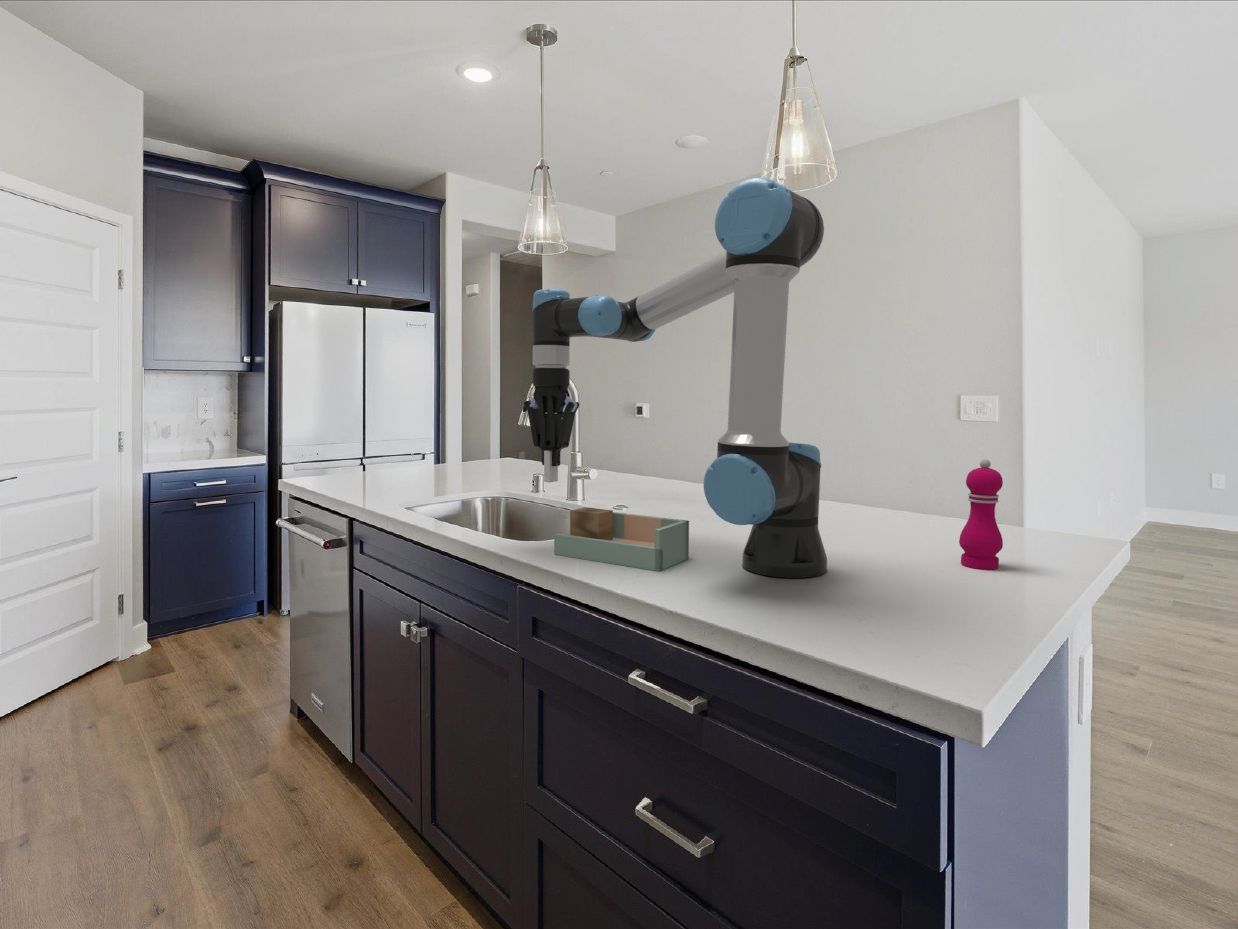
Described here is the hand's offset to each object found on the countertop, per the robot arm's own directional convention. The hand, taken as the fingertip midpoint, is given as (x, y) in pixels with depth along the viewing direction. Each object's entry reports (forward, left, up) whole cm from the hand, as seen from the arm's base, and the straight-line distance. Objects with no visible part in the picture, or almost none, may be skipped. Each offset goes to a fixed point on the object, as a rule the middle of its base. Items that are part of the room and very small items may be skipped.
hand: (551, 481), depth 142 cm
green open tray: (-17, 0, -14) cm, 22 cm away
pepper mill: (-77, -31, -14) cm, 84 cm away
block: (-10, 0, -11) cm, 15 cm away
